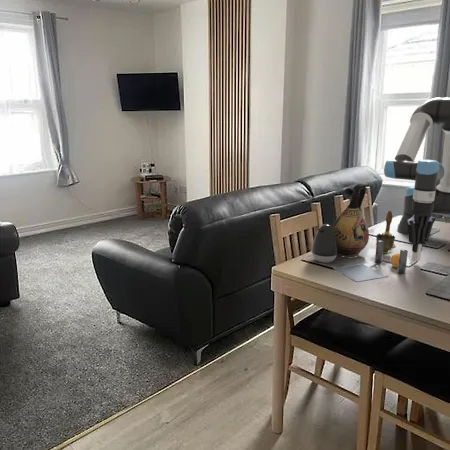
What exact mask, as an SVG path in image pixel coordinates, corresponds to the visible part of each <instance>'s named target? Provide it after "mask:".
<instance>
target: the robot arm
mask: <svg viewBox="0 0 450 450" xmlns="http://www.w3.org/2000/svg"><path fill="white" fill-rule="evenodd" d="M409 124H410V125H409V127H408V129H407V131H406V133H405V135H404V137H403V140H402V142H401V143H400V146H399V149H398V151H397V152H396V155H395V156H394V159H393V158H392V159H387V160H386V161H385V164H384V166H383V167H384V168H383V174H384V176H385V177H386V178H389V179H395V180H405V181H406V180H409V181H414V185H410V186H408V187H406V190H405V195H404V203H403V210H402V216H401V218H400V221H399V222H398V224H397V228H396V229H397V232H399V233H401V234H403V235H404V234H405V235H408V242H409V243H411V244H412V248H411V251H412V254H411V259H412V260H414V261H421V256H422V251H423V245H426V243H427V242H428V241H429V239H430V236H431V235H430V234H431V232H432V229H433V225H434V224H435V222H436V220H437V219H436V218H435V217H433V216H432V214H434V215H441V216H448V217H450V97H433V98H430V99H428V100H426V101H424V102H423V103H422V104H420V105H419V106H418V107H417V108H416V109H415V110H414V112H413V113H412V114H411V116H410V120H409ZM434 125H439V126H440V125H441V130H442V132H444V142H443V150H442V151H443V152H442V161H441V162H442V163H441V162H439V161H438V160H435V159H420V160H418V161H415V159H416V158H417V154H418V153H419V151H420V148H421V146H422V144H423V141H424V139H425V137H426V136H427V135H426V134H427V132H428V130H430V129H431V128H432V126H434ZM438 182H439V184H437V183H438Z"/></svg>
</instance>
